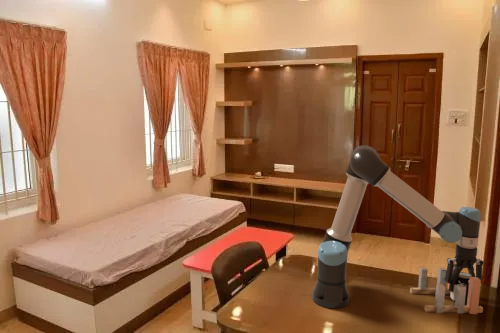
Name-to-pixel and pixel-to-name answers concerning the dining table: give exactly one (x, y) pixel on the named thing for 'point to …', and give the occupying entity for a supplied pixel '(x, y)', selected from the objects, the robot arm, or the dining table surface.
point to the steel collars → (443, 290)
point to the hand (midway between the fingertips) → (461, 298)
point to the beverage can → (463, 279)
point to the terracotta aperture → (472, 293)
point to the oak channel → (446, 307)
